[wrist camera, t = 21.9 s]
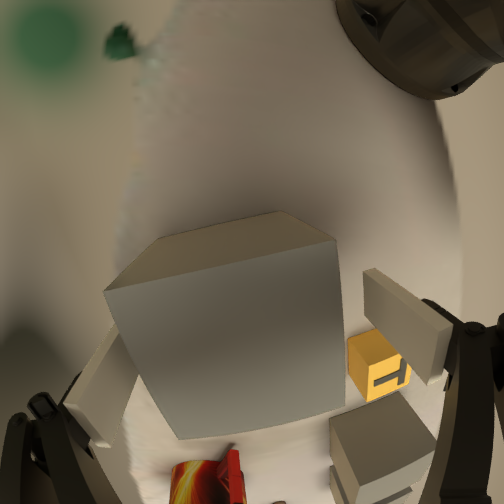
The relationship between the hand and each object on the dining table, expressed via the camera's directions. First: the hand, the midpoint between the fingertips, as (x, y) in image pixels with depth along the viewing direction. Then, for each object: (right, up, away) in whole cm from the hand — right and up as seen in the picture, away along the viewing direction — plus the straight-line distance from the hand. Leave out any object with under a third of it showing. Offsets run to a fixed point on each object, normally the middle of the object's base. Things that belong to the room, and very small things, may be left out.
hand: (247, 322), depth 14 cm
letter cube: (+11, -6, +10) cm, 16 cm away
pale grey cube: (-1, +1, +6) cm, 7 cm away
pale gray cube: (+14, -18, +13) cm, 26 cm away
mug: (-6, -24, +13) cm, 28 cm away
